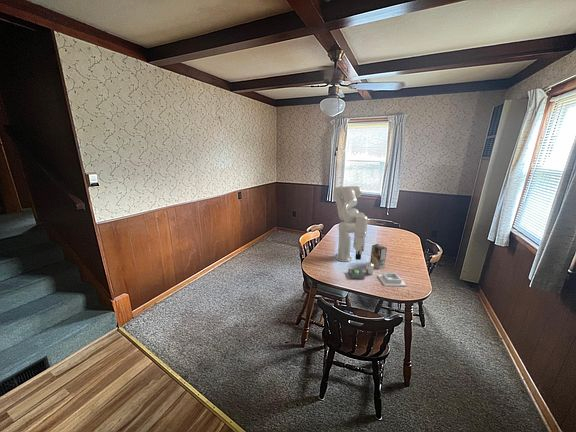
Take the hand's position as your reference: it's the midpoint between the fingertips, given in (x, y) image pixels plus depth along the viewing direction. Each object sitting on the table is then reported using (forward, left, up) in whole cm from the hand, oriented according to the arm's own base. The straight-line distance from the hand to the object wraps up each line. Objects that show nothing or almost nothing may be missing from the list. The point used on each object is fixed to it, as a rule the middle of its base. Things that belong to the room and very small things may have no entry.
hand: (358, 259), depth 155 cm
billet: (-4, +10, -13) cm, 17 cm away
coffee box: (-16, +20, -14) cm, 29 cm away
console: (-1, 0, -13) cm, 13 cm away
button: (-1, 0, -13) cm, 13 cm away
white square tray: (+6, +22, -13) cm, 26 cm away
